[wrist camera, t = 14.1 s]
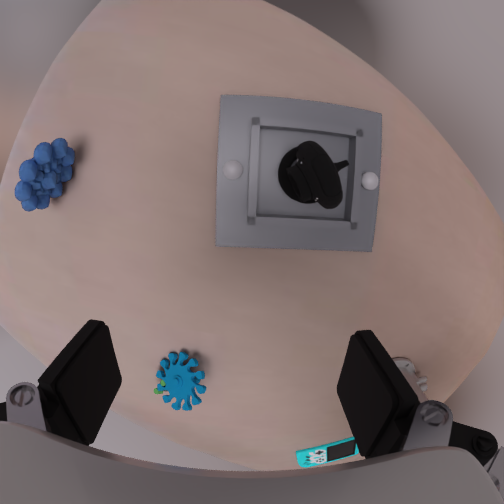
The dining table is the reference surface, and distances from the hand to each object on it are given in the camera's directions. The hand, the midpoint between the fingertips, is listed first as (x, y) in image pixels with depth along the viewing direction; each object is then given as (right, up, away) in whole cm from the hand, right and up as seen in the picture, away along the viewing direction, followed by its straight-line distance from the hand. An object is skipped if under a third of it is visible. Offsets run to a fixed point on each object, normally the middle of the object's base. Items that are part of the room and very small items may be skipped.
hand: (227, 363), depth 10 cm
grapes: (-27, +17, +24) cm, 40 cm away
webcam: (+8, +14, +25) cm, 30 cm away
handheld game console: (+20, -45, +44) cm, 66 cm away
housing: (+8, +14, +26) cm, 30 cm away
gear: (-11, -16, +34) cm, 39 cm away
